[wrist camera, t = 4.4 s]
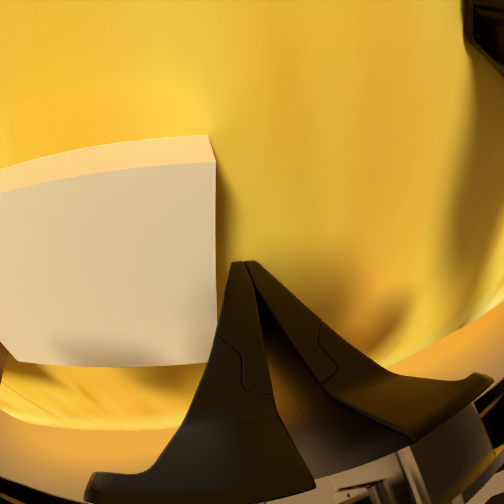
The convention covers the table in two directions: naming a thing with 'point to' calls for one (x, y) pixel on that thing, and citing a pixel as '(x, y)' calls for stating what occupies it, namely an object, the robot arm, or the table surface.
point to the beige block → (110, 255)
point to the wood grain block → (2, 358)
